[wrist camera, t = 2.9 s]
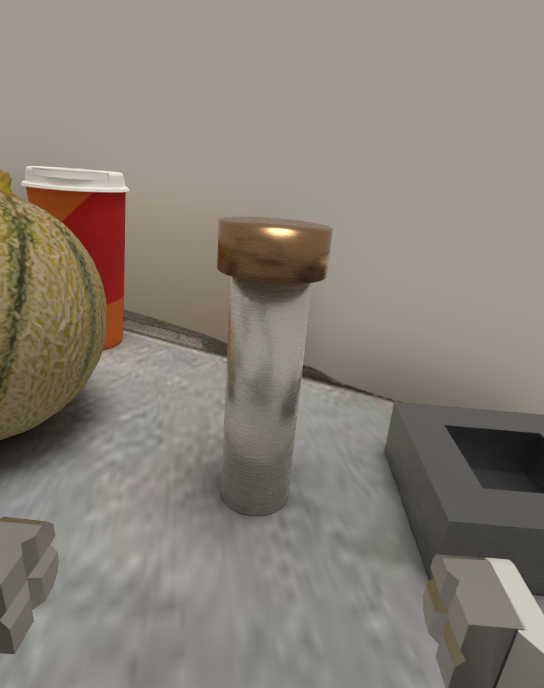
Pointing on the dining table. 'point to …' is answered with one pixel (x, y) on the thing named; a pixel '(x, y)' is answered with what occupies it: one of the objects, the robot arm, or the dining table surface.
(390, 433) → the block
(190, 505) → the dining table surface
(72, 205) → the coffee cup
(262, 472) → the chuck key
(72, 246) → the cantaloupe
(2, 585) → the robot arm
